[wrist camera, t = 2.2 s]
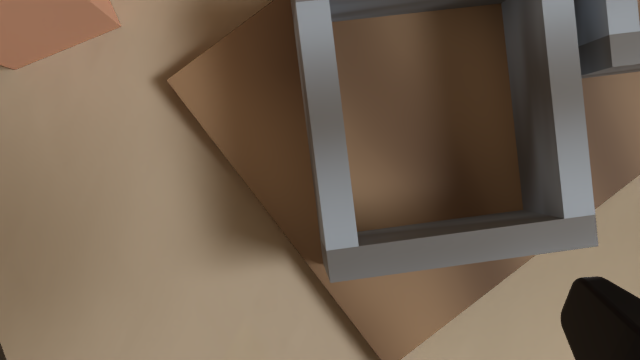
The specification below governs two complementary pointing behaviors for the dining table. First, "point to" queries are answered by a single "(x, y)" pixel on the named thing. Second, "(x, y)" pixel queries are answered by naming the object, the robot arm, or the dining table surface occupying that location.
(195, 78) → the cap board
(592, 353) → the robot arm
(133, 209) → the dining table surface
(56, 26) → the pink rectangular block
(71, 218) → the dining table surface
